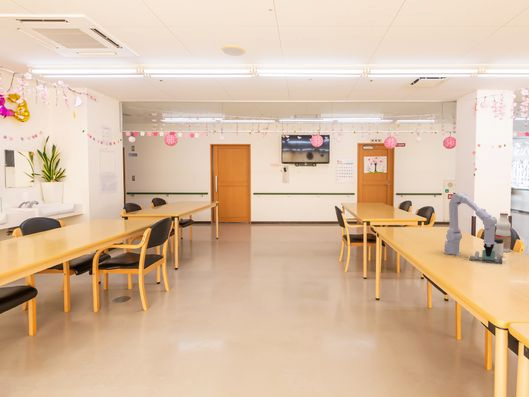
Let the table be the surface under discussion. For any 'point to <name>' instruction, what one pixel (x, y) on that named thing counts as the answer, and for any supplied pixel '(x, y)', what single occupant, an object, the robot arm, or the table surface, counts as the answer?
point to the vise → (497, 261)
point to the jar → (498, 246)
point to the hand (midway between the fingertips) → (488, 255)
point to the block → (488, 256)
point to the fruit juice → (504, 231)
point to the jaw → (476, 255)
